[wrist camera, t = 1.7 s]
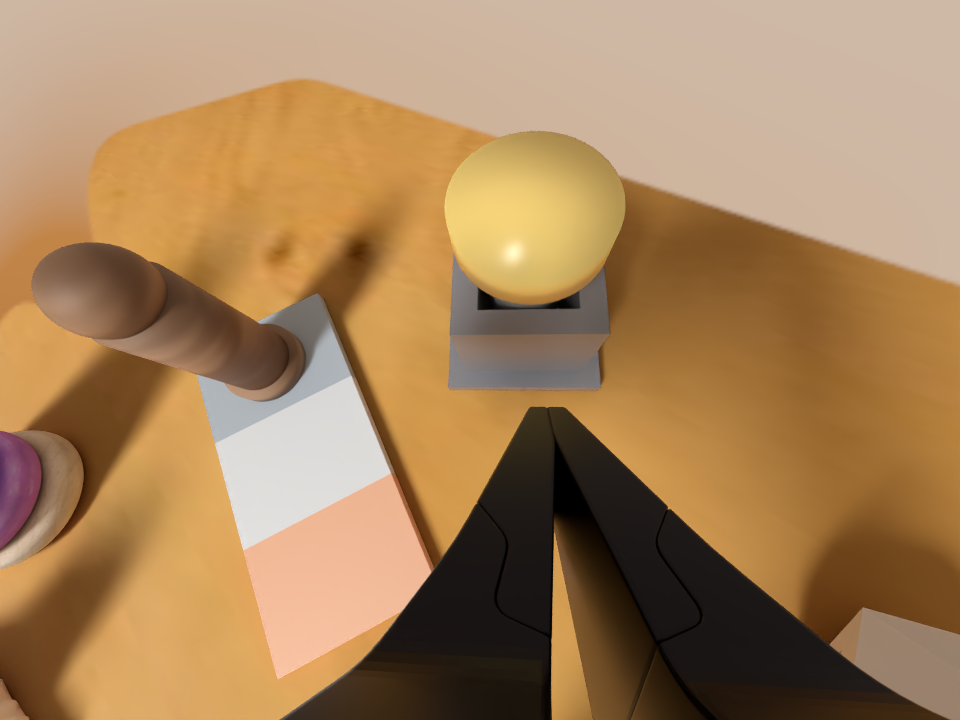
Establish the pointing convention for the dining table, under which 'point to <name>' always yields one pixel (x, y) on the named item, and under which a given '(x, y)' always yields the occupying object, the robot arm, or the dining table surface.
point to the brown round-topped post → (165, 319)
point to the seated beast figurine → (9, 706)
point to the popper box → (526, 340)
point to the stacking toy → (35, 491)
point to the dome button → (533, 217)
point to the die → (906, 658)
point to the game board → (315, 500)
